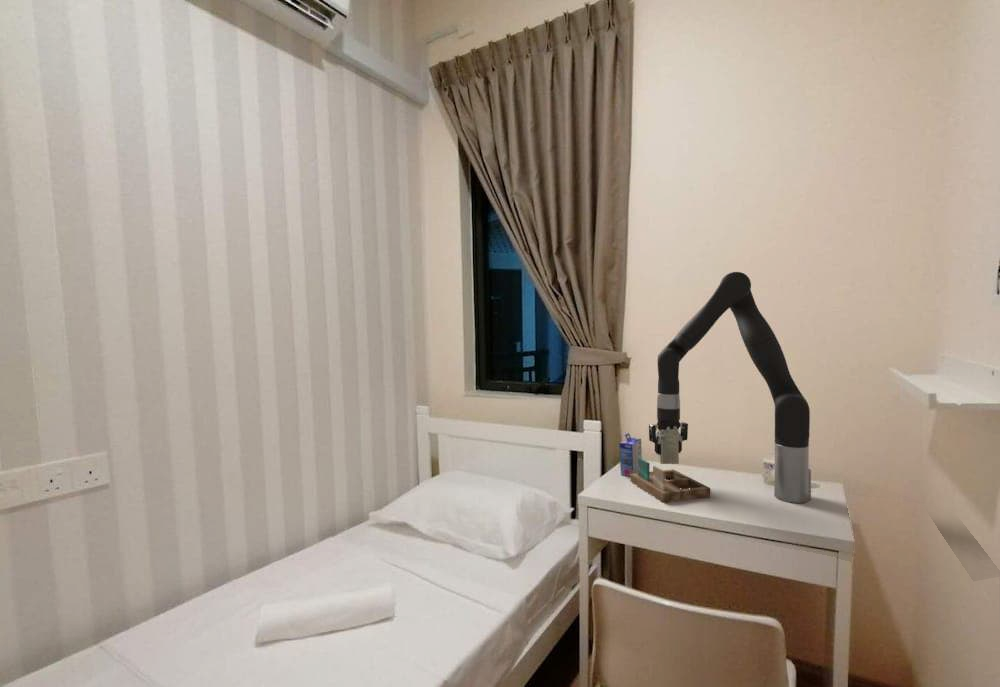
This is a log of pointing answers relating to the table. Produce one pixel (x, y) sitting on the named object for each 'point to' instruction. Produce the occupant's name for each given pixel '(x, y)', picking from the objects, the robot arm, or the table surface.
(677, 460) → the skincare box
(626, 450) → the ink cartridge box
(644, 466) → the socket block
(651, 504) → the table surface
